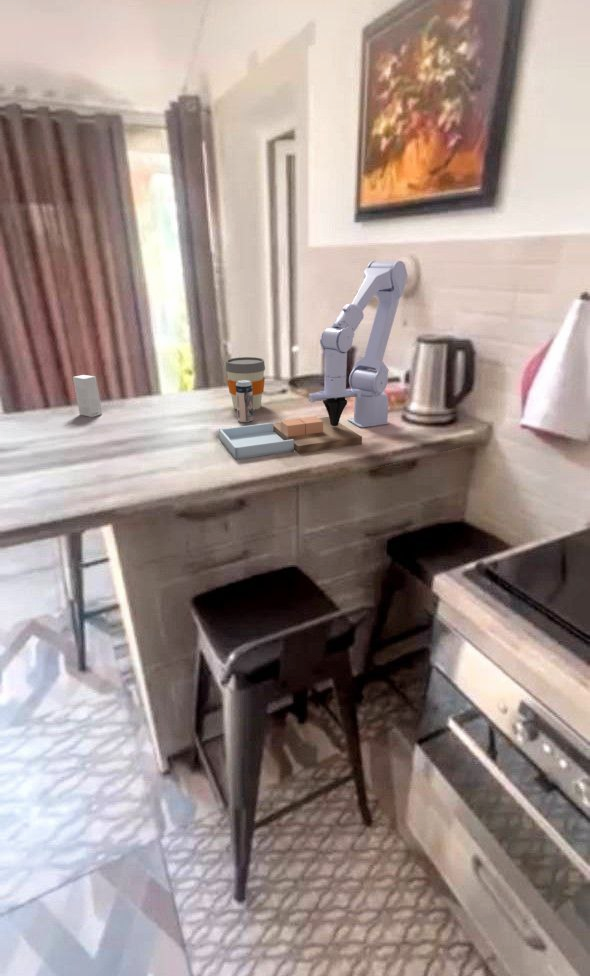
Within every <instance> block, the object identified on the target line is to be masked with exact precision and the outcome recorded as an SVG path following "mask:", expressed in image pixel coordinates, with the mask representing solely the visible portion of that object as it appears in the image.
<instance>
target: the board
mask: <svg viewBox="0 0 590 976" xmlns="http://www.w3.org/2000/svg"><path fill="white" fill-rule="evenodd" d="M318 418H319V419H320V420H322V421H323V432H321V433H314V434H305V435H299V436H291V437H287V436H286V435H285V434H283V433H282V432H281V422H276V423H273V429H274V432H275V433H276V434H277V435H278V436H279V437H281V438H282V439H283V440H291V439H293V440H294V450H295V451H294V452H295V453H297V454H298V453H299V454H304V453H310V452H311V453H312V452H318V451H323V450H324V451H325V450H331V449H338V448H343V447H345V448H346V447H350V446H352V447H353V446H358V445H362V444H363V436H361V435H360V434H359V433H357V432H355V431H353V429H350V428H348V427H347V426H346V425H343V424H342V423H340V422H339V423H338V426H332V425H331V424H330V419H329V416H324V417H318Z"/></svg>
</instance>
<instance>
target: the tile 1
mask: <svg viewBox="0 0 590 976" xmlns="http://www.w3.org/2000/svg"><path fill="white" fill-rule="evenodd" d="M280 423H281V432H282V433H283V434H285V435H286V436H287V437H291V436H299V435H305V423H304V422H302V421H301V420H299V418H292V419H285V420H284V419H283V420H280Z"/></svg>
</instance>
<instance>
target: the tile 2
mask: <svg viewBox="0 0 590 976" xmlns="http://www.w3.org/2000/svg"><path fill="white" fill-rule="evenodd" d="M319 418H320V417H318V416H308V417H300V418H299V417H298V419H299V420H301V421H302V422H304V423H305V434H314V433H321V432H323V421H322V420H320V419H319Z"/></svg>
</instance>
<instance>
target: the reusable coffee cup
mask: <svg viewBox="0 0 590 976" xmlns="http://www.w3.org/2000/svg"><path fill="white" fill-rule="evenodd" d="M265 370H266V365H265V360H264V358H261V357H254V356H253V357H252V356H251V357H250V356H245V357H244V356H243V357H241V356H240V357H232V358H229V359H226V360H225V371H226V373H227V379H226V380H227V381H226V382H227V386H228V392H229V394H231V395H230V396H231V401H232V406H233V409H234V410H236V409H237V399H236V383H237V381H238V380H250V381H251V383H252V391H253V411H256V410H259V409H260V408H261V407H262V400H263V399H262V398H263V393H264V389H265V388H264V387H265ZM255 409H256V410H255Z"/></svg>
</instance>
